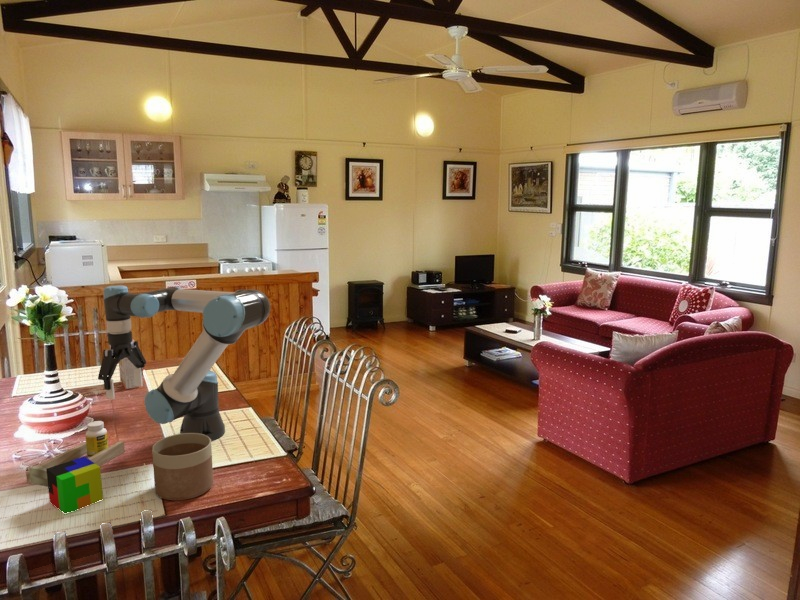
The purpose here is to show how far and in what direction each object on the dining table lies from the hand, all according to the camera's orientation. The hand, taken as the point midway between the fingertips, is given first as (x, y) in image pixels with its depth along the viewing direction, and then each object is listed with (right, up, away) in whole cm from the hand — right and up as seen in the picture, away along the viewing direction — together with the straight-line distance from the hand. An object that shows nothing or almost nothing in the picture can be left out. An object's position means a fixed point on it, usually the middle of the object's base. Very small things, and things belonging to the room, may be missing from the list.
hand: (125, 392), depth 203 cm
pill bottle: (-4, -19, -11) cm, 22 cm away
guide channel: (-6, -20, -19) cm, 28 cm away
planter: (+32, -23, -31) cm, 51 cm away
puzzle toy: (+5, -24, -39) cm, 46 cm away
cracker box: (-26, -6, +59) cm, 64 cm away
